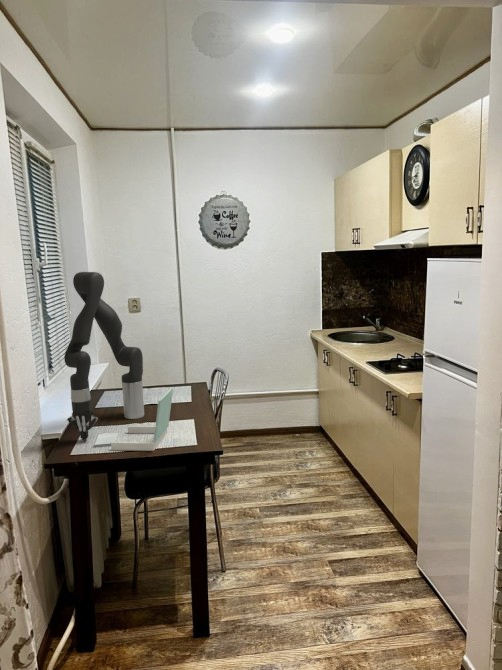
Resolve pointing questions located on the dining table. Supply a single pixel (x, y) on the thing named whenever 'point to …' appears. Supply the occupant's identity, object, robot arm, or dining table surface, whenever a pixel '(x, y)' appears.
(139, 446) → the drive bay
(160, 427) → the cover
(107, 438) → the hard drive
